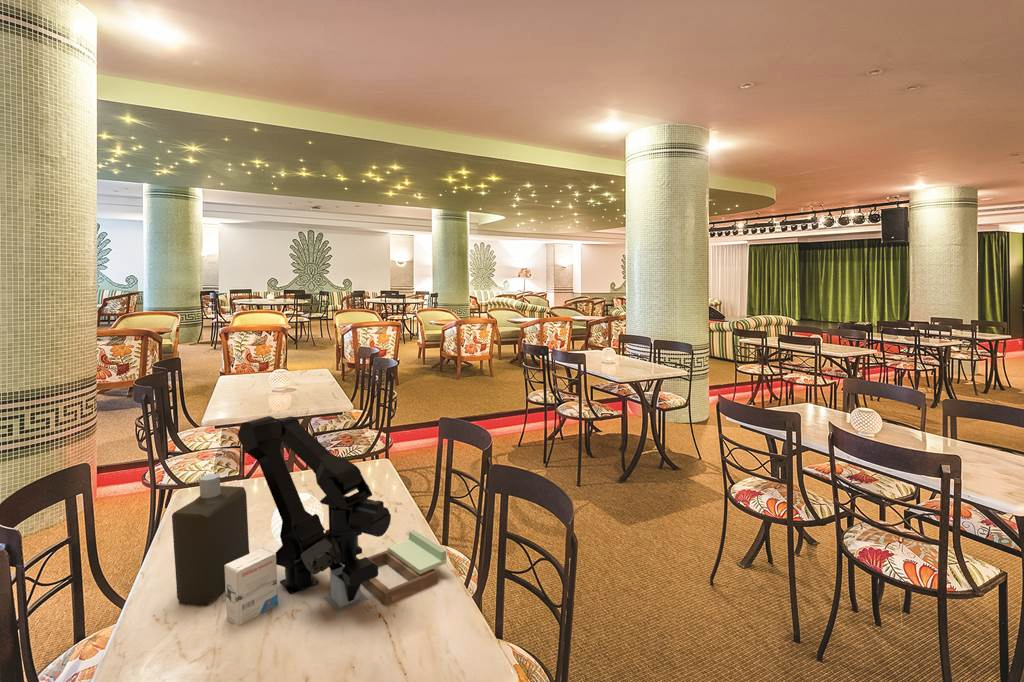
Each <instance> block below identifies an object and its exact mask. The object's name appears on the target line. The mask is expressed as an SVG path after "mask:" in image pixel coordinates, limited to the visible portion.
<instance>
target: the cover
mask: <svg viewBox="0 0 1024 682" xmlns="http://www.w3.org/2000/svg"><path fill="white" fill-rule="evenodd" d="M387 550H388V551H389V552H390V553H391V554H393V555H394V556H395V557H397V558H398V559H399V560H401V561H402V562H404V563H405V564H406V565H408V566H409V567H410V568H412V569H413V570H414V571H416V572H417V573H419V574H422V573H424V572H427V571H429V570H431V569H434V570H435V569H436V568H438V567H440V566H443V565H446V564H447V550H446V549H445V548H443V547H442V546H440V545H438V544H437V543H435V542H434V541H432V540H431V539H429V538H427V537H425V535H422V534H421V533H419V532H418V531H417V530H415V529H413V530H410V531H408V539H406V540H403V541H401V542H398V543H396V544H392V545H390V546H388V547H387Z"/></svg>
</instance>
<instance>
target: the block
mask: <svg viewBox="0 0 1024 682" xmlns="http://www.w3.org/2000/svg"><path fill="white" fill-rule="evenodd" d="M344 567H345V566H343V567H340V568H337V569H335V570H332V571H331V570H330V571H329V578H330V581H329V584H330V594H331V598H332V599H333V600H334V601H335V602H336V603H337V604H338V606H339V607H342V606H345V605H347V604H349V603H352V602H354V601H356V600H359V599H360V592H361V586H360V587H359V589H358V591H357V593H356V595H355V598H354V600H352V601H350V602H349V601H348V599H347V594H346V589H345V583H344V582H343V581H342V580H341V579H340V578H339V577H338V576H337V575H340V574H342V569H343V568H344Z"/></svg>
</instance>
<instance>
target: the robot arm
mask: <svg viewBox="0 0 1024 682" xmlns="http://www.w3.org/2000/svg"><path fill="white" fill-rule="evenodd" d="M237 437H238V440H239V442H240V444H241V446H242V448H243V450H244V452H245V453H246V454H248V455H249V456H251V457H252V458H253V459H255V460H256V461H257V462H258V464H259V467H260V469H261V472H262V473H263V477H264V480H265V482H266V484H267V486H268V489H269V491H270V494H271V496H272V499H273V501H274V505H275V506H276V509H277V511H278V514H279V516H280V519H281V527H280V535H279V537H280V540H281V544H282V545H281V546H280V547H279V548H278V550H277V551H275V553H276V566H277V565H278V566H281V567H283V568H284V575H285V576H284V579H281V580H280V581H279V584H280V585H281V586H282V587H283V588H284V589H285V591H287V593H288V594H289V595H292V594H293V595H294V594H296V593H298V592H301V591H303V590H306V589H309V588H311V587H314V586H317V585H319V583H320V582H319V580H318V579H317V578H316V577H315V576H314V575H317V574H320V572H321V573H322V572H324V571H325V570H327V569H328V568H329V570H330V571H332V570H335V569H337V568H340V567H343V566H345V567H344V568H343V569H342V574H340V575H337V576H338V577H339V578H340V579H341V580H342V581H343V582H344V583H345V589H346V594H347V599H348V601H349V602H350V601H352V600H354V598H355V595H356V593H357V591H358V589H359V587H360V588H361V586H362V585H361V583H362V582H365V581H367V580H370V579H372V578H377V577H378V575H379V567H378V566H377V565H376V564H375V563H374V562H372V561H371V560H370V559H368V557H366V556H365V557H362V558H359V557H357V556H358V555H360V554H362V553H363V548H362V547H360V545H359V536H361V535H362V534H365V535H370V536H373V537H377V538H378V537H379V538H380V537H383V535H385V533H386V532H387V531H388V529H389V528H390V524H391V520H392V514H391V513H390V510H389V509H388V508H387V507H385V506H384V501H382V500H373V499H370V497H373V492H372V491H371V489H370V486H369V485H368V483H367V482H366V480H365V479H364V476H363V475H362V471H361V470H360V468H359V467H358V466H357V465H355V464H354V463H353V462H351V461H350V460H348V459H347V458H344V457H341V456H337V455H335V454H333V453H331V452H330V451H329V449H327V448H326V447H325V446H324V445H323V444H322V443H321V442H320V441H318V440H317V438H315V436H313V435H312V433H310V431H308V430H307V429H306V428H304V426H303V425H301V423H300V420H299V419H298V417H296V416H291V415H290V416H286V417H279V418H276V417H273V416H270V415H267V416H263V417H260V418H259V417H258V418H256V419H252V420H248V421H245V422H242V424H240V426H239V429H238V431H237ZM283 444H285V445H286V446H287V447H288V448H289V449H290V450H291V451H292V452H293V453H294V454H295V455H296V456H297V457H298V458H299V459H300V460H301V461H302V462H303V463H304V464H305V465H306V466H308V468H310V469H311V471H312V472H313V474H314V475H315V479H316V484H317V485H318V487H319V488H320V490H321V491H322V492H323V493H324V495H325V496H324V497H323V498H321V500H320V501H319V502H320V504H322V505H326V506H328V529H325V527H324V526H323V525H322V522H321V518H320V516H319V515H318V514H317V513H315V514H311V513H309V512H308V511H307V510H306V509H305V507H304V504H303V501H302V499H301V497H300V494H299V492H298V490H297V488H296V485H295V483H294V481H293V478H292V475H291V473H290V471H289V469H288V465H287V462H286V460H285V458H284V456H283V454H282V447H283ZM356 490H357V492H355V493H353V494H351V495H349V494H350V493H352V492H354V491H356ZM324 531H325V532H324Z"/></svg>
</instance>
